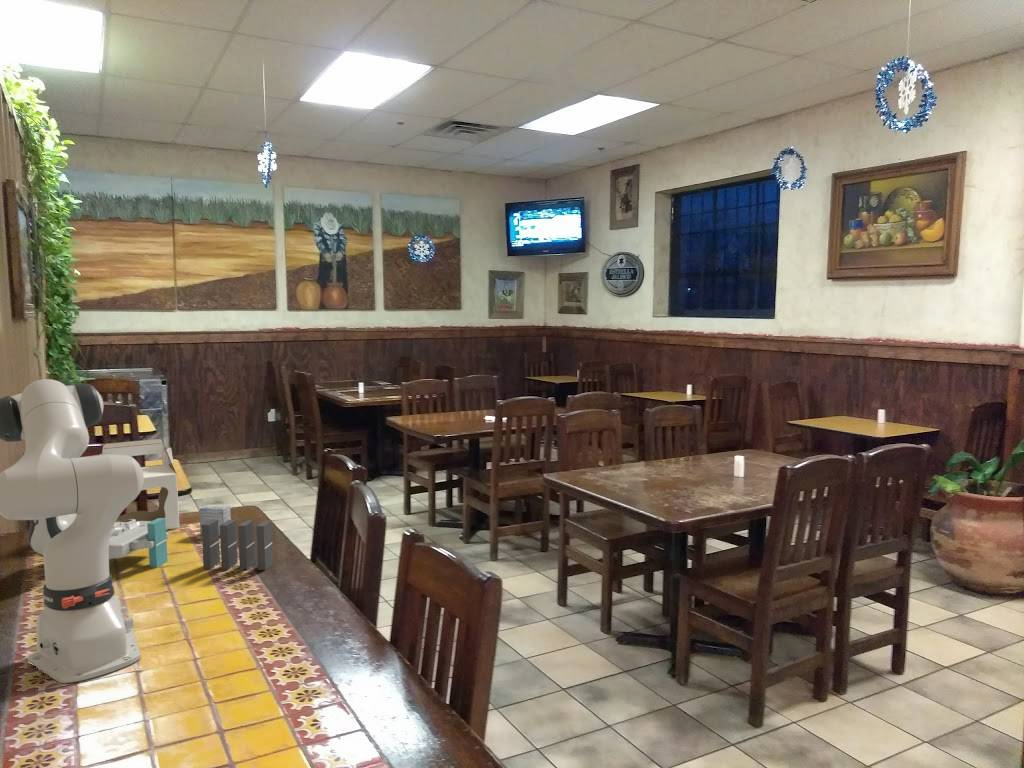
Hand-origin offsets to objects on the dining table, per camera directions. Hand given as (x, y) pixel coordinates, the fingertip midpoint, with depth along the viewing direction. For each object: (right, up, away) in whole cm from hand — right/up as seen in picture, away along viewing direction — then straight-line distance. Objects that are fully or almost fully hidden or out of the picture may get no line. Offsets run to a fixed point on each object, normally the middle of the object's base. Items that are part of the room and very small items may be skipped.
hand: (160, 540), depth 193 cm
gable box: (-23, -4, +32) cm, 40 cm away
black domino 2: (+19, -7, -1) cm, 20 cm away
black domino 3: (+24, -7, -1) cm, 25 cm away
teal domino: (-1, -7, +1) cm, 7 cm away
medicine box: (+4, -4, +27) cm, 27 cm away
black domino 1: (+14, -7, -1) cm, 16 cm away
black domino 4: (+29, -7, -2) cm, 30 cm away
